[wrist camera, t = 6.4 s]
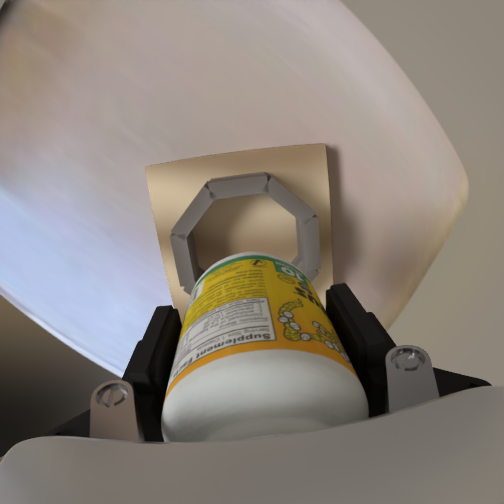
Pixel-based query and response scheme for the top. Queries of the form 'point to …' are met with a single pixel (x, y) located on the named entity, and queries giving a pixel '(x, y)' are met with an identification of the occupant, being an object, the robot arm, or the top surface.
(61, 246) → the top surface
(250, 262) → the supplement bottle
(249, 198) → the collar
